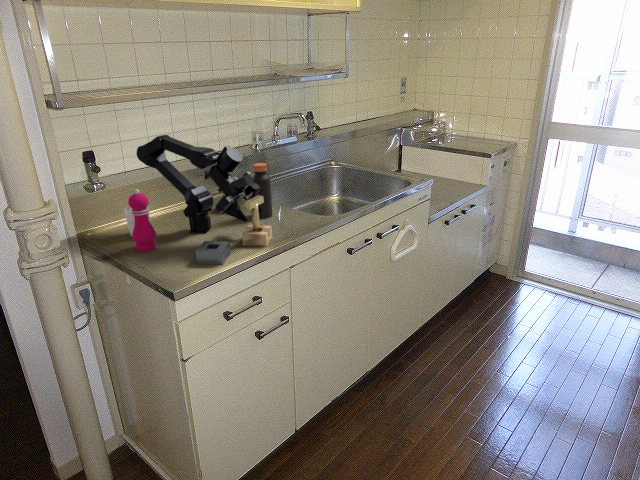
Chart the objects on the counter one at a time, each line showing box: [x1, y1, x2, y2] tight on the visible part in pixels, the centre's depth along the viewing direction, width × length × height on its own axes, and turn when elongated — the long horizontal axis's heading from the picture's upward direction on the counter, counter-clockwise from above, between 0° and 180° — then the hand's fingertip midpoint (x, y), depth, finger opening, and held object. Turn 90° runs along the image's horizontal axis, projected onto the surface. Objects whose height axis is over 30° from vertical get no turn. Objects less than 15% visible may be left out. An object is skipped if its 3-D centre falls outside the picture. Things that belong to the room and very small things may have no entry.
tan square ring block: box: [241, 224, 273, 247], centre depth 157 cm, size 8×8×4 cm
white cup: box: [123, 205, 151, 238], centre depth 164 cm, size 8×8×10 cm
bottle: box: [253, 162, 273, 219], centre depth 177 cm, size 7×7×20 cm
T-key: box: [243, 195, 264, 232], centre depth 155 cm, size 8×2×15 cm, turn 154°
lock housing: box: [195, 240, 232, 265], centre depth 144 cm, size 8×8×4 cm
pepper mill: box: [127, 188, 157, 253], centre depth 150 cm, size 7×7×20 cm
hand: (254, 217), depth 155 cm, fingers open, 9 cm apart
